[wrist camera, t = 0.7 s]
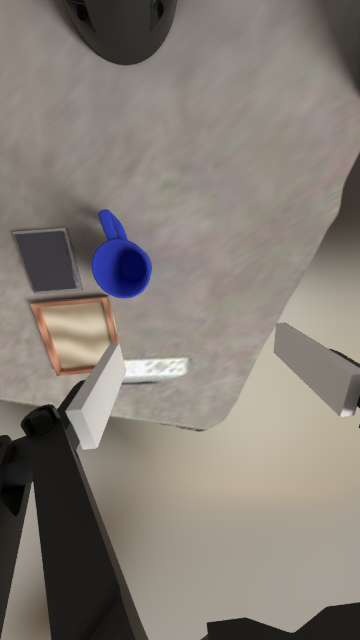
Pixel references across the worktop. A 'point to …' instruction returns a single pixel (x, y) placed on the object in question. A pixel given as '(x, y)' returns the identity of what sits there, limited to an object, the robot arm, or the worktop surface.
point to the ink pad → (49, 260)
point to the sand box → (76, 332)
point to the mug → (120, 261)
